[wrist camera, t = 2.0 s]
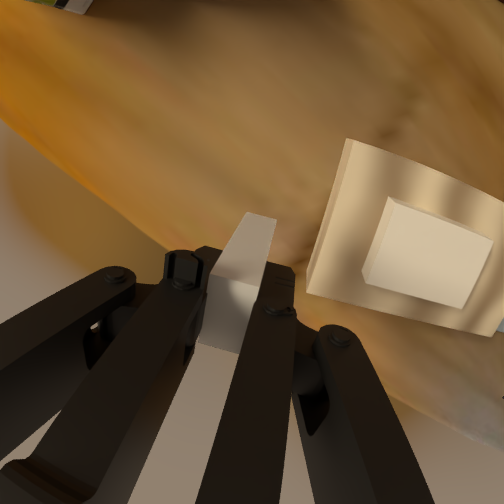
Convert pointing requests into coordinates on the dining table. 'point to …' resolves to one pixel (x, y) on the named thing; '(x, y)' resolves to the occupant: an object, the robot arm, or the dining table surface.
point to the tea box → (67, 4)
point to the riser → (366, 223)
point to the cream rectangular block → (425, 255)
